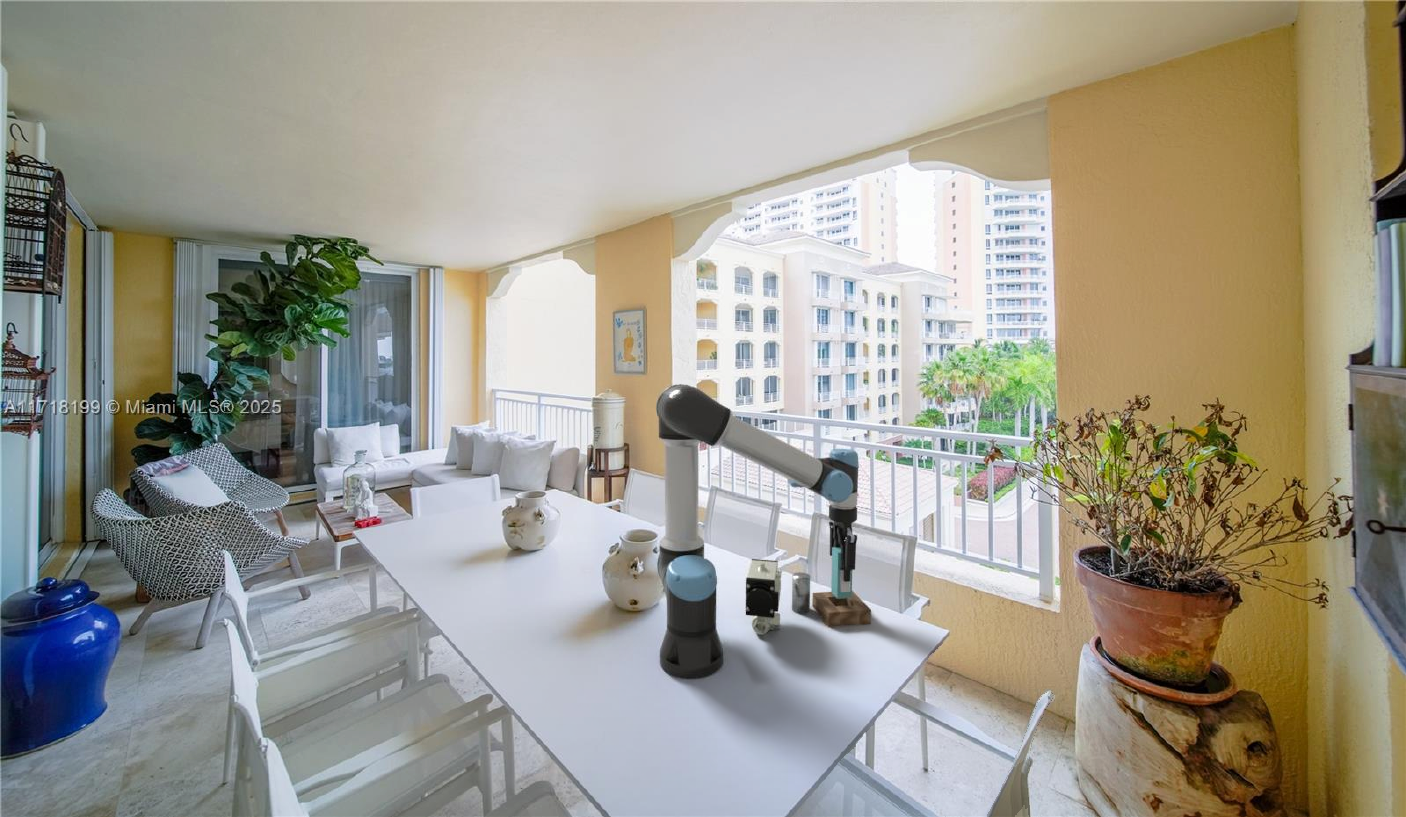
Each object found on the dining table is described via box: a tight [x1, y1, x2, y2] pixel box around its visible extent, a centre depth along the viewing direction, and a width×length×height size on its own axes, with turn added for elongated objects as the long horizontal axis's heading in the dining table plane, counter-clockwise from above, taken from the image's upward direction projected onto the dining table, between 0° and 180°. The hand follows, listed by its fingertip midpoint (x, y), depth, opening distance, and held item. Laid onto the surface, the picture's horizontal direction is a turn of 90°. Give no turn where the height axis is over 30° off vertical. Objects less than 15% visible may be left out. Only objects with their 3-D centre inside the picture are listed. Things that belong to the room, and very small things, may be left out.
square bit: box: [830, 547, 853, 599], centre depth 143 cm, size 4×4×13 cm
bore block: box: [811, 590, 872, 628], centre depth 144 cm, size 12×12×4 cm
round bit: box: [791, 571, 811, 615], centre depth 147 cm, size 5×5×10 cm
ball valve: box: [745, 558, 783, 636], centre depth 136 cm, size 18×8×18 cm, turn 168°
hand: (841, 587), depth 144 cm, fingers closed on square bit, 4 cm apart
